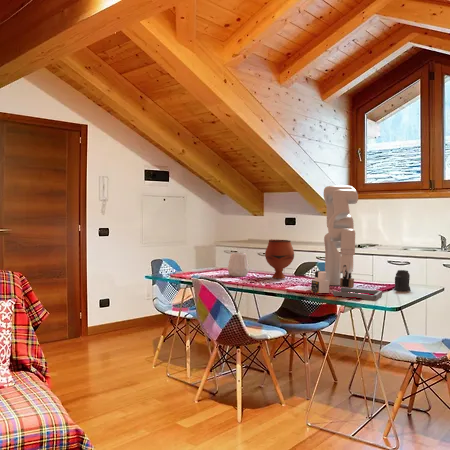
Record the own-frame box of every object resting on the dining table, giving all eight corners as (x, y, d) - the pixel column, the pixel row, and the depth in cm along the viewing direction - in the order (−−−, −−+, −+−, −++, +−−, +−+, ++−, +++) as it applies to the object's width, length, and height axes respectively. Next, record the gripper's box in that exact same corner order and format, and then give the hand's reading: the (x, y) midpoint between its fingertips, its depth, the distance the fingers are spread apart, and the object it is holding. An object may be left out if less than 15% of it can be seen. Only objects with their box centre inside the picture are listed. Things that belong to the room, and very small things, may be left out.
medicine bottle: (311, 292, 275) (311, 270, 274) (321, 291, 278) (322, 270, 277) (318, 294, 268) (318, 272, 268) (329, 293, 271) (330, 271, 271)
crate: (339, 286, 267) (340, 278, 267) (342, 285, 272) (343, 277, 271) (351, 287, 264) (351, 279, 264) (353, 286, 268) (353, 278, 268)
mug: (398, 288, 293) (399, 269, 292) (413, 290, 286) (414, 270, 286) (388, 290, 285) (388, 270, 284) (403, 292, 278) (404, 272, 278)
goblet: (291, 280, 317) (292, 241, 316) (261, 278, 322) (262, 240, 321) (295, 276, 335) (296, 239, 334) (267, 275, 340) (267, 238, 339)
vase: (249, 274, 342) (249, 252, 342) (248, 277, 328) (248, 254, 328) (229, 273, 344) (229, 251, 343) (226, 276, 330) (227, 253, 329)
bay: (333, 296, 263) (333, 291, 263) (341, 291, 278) (341, 287, 278) (375, 300, 253) (375, 295, 253) (382, 295, 267) (382, 291, 267)
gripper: (344, 250, 277) (344, 283, 277) (336, 252, 262) (335, 287, 262) (358, 251, 273) (357, 284, 274) (350, 253, 258) (349, 288, 259)
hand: (346, 285), depth 268 cm, fingers closed on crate, 5 cm apart
